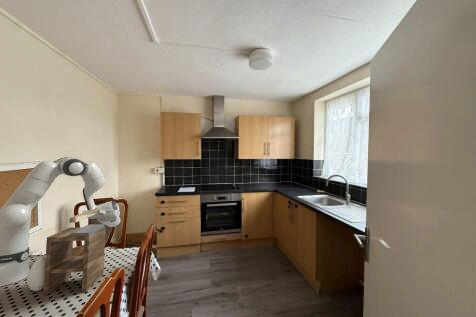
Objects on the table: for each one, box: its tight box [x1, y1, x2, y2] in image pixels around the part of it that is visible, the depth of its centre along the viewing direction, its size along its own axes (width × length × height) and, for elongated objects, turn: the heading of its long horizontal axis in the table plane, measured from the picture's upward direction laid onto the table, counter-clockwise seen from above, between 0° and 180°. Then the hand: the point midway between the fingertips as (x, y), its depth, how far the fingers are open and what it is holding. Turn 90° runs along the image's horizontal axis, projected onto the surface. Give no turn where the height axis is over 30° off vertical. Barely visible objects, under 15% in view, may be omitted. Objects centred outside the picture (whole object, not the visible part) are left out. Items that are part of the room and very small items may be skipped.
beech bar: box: [69, 208, 101, 224], centre depth 107 cm, size 3×22×2 cm, turn 8°
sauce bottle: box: [26, 251, 46, 292], centre depth 89 cm, size 8×8×18 cm
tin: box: [72, 244, 84, 256], centre depth 116 cm, size 15×3×8 cm, turn 139°
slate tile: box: [70, 223, 105, 236], centre depth 95 cm, size 8×13×2 cm, turn 8°
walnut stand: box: [42, 226, 107, 296], centre depth 94 cm, size 18×14×26 cm
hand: (94, 210), depth 114 cm, fingers closed on beech bar, 3 cm apart
